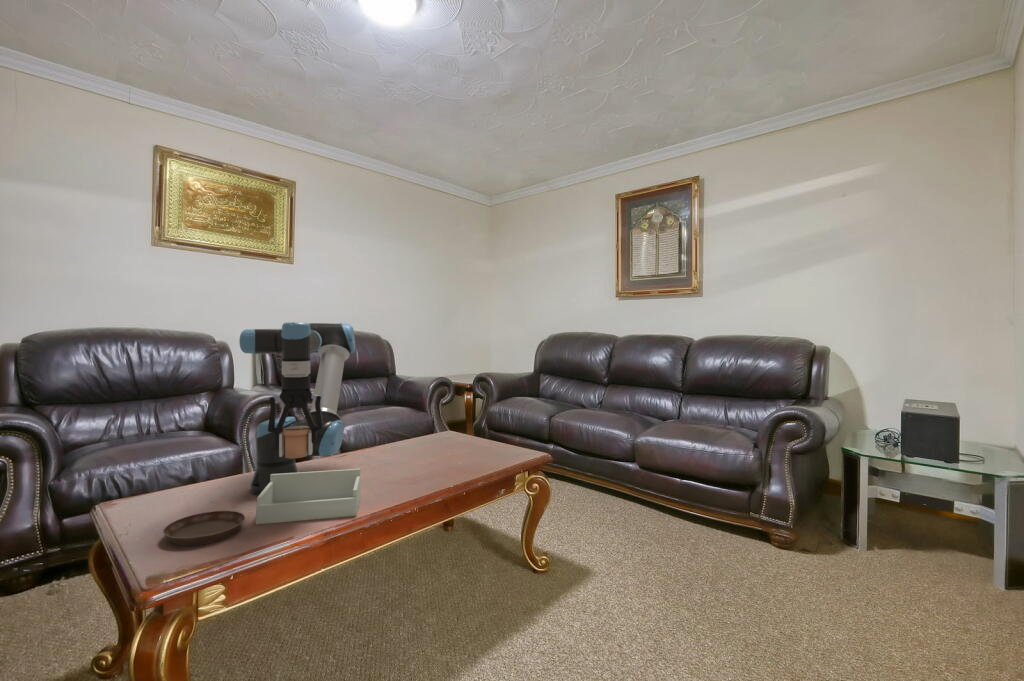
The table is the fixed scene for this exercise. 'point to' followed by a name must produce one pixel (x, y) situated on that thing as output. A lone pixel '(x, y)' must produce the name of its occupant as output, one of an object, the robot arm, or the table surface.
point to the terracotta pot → (296, 441)
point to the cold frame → (309, 496)
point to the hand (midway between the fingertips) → (296, 454)
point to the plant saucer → (203, 527)
